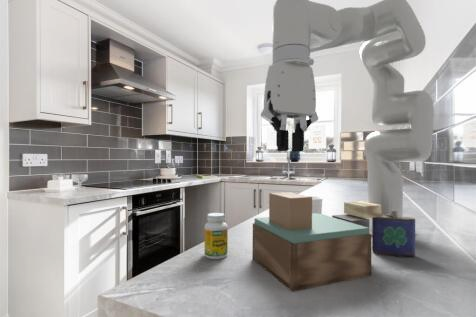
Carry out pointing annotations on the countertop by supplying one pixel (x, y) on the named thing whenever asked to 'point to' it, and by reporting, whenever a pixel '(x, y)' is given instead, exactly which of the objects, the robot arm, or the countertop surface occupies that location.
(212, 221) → the supplement bottle
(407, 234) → the flask
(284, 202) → the lid
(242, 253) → the countertop surface
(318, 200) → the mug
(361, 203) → the pale gold block
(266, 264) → the wooden box
